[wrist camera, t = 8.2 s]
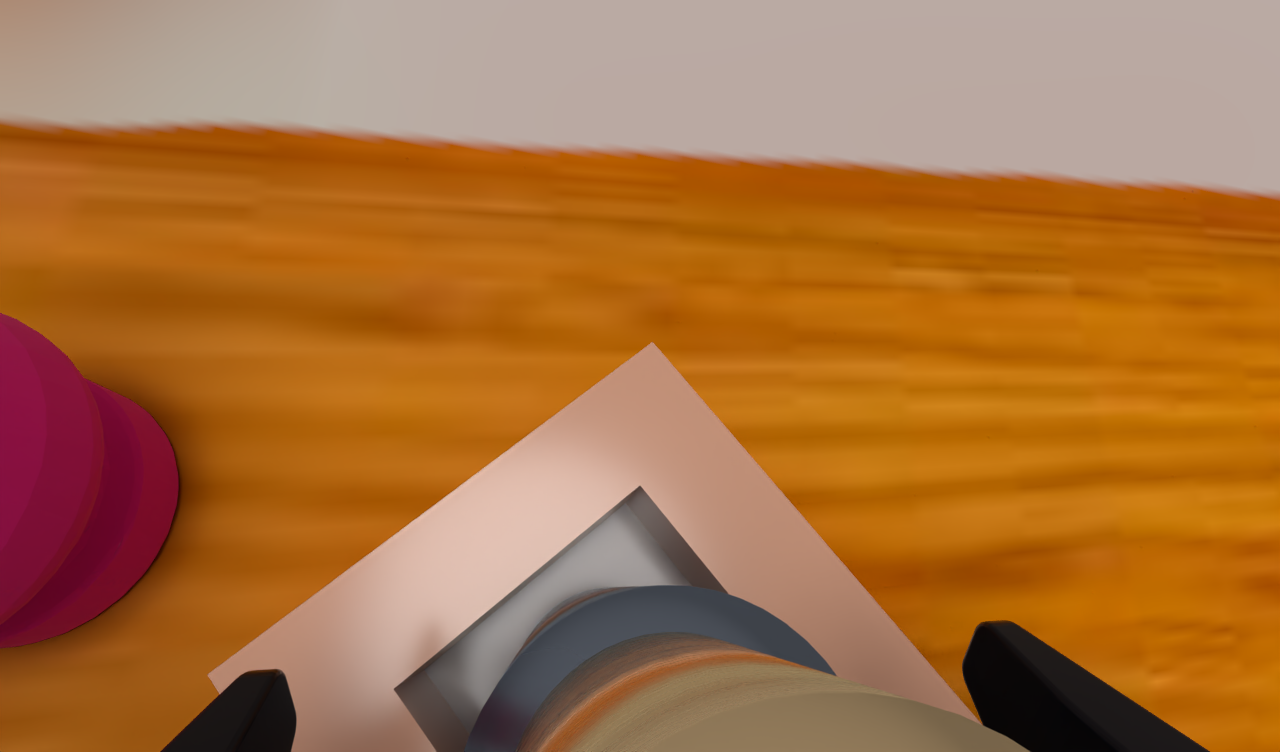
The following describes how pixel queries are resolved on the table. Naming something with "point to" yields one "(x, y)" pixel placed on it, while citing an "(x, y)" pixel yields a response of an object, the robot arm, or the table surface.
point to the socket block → (567, 571)
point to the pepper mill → (72, 490)
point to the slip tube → (696, 686)
